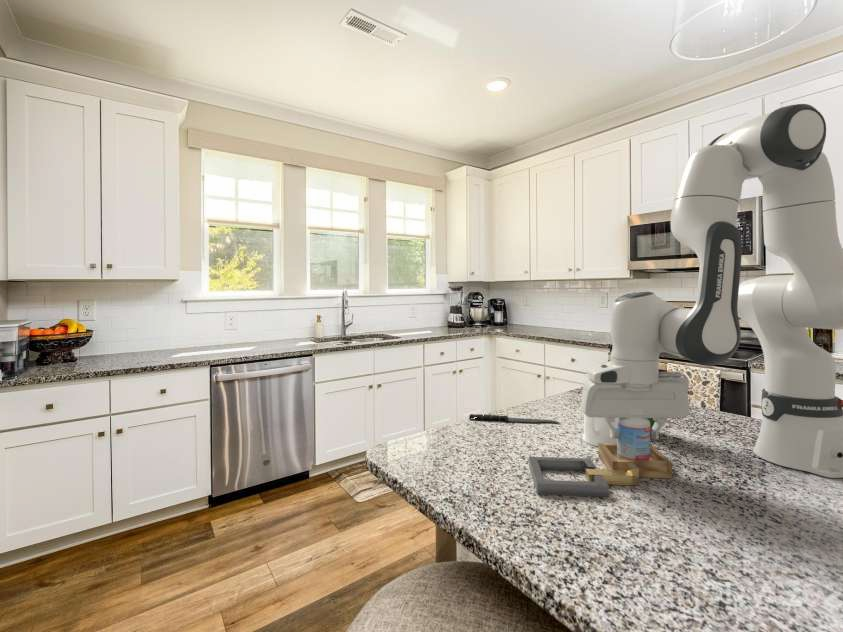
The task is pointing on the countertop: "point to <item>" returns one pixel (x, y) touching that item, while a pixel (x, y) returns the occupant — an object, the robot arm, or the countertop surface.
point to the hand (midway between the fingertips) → (633, 438)
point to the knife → (506, 419)
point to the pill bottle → (634, 437)
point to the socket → (566, 487)
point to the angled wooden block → (615, 475)
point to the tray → (636, 462)
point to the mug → (598, 430)
